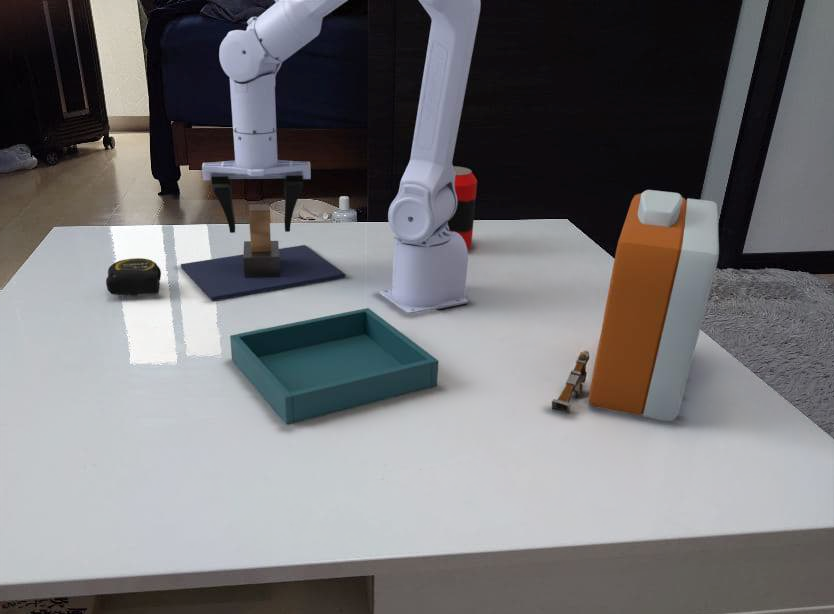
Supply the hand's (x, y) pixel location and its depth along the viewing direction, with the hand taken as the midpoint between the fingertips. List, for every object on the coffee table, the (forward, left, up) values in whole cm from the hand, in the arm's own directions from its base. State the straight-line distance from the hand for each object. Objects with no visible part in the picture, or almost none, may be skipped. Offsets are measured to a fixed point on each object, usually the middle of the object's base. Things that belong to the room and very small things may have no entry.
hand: (260, 230), depth 109 cm
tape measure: (+18, 0, -6) cm, 19 cm away
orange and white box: (-25, +49, -6) cm, 55 cm away
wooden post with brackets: (-15, +49, -6) cm, 52 cm away
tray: (+5, +33, -6) cm, 34 cm away
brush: (0, 0, -6) cm, 6 cm away
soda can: (-31, +2, -6) cm, 32 cm away
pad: (0, 0, -6) cm, 6 cm away
